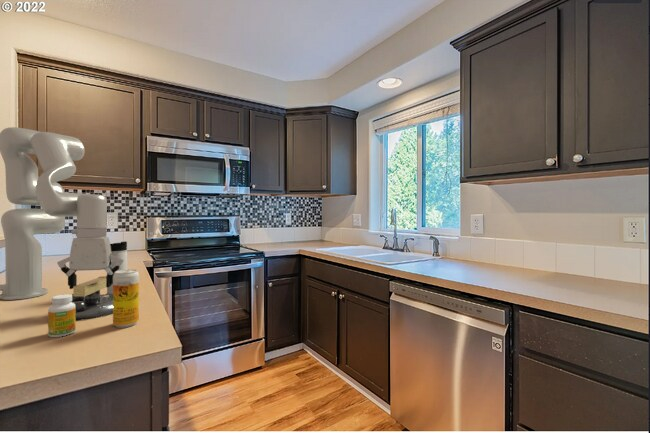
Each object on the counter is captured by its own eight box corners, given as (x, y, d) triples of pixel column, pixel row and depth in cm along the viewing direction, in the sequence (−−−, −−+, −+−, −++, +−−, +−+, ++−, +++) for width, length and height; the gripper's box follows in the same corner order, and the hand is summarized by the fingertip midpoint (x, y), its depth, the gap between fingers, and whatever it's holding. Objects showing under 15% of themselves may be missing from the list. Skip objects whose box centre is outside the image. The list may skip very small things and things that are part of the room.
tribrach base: (38, 321, 88) (38, 305, 88) (78, 302, 106) (78, 289, 106) (108, 318, 91) (108, 303, 91) (135, 300, 109) (135, 288, 109)
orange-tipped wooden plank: (86, 308, 92) (86, 285, 92) (72, 309, 92) (71, 286, 92) (112, 296, 106) (112, 276, 106) (100, 296, 105) (100, 276, 105)
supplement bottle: (52, 339, 76) (52, 300, 76) (44, 334, 79) (44, 297, 79) (79, 332, 81) (79, 295, 81) (70, 328, 84) (70, 292, 84)
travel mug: (117, 297, 112) (117, 242, 112) (102, 296, 114) (102, 241, 113) (131, 293, 118) (131, 240, 118) (117, 291, 120) (117, 240, 119)
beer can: (111, 329, 83) (111, 274, 83) (114, 322, 88) (114, 270, 88) (137, 326, 86) (138, 272, 85) (139, 319, 91) (139, 268, 91)
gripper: (52, 234, 91) (51, 291, 92) (120, 234, 97) (119, 288, 98) (64, 232, 99) (63, 285, 99) (126, 232, 104) (126, 282, 105)
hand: (91, 287), depth 98 cm, fingers open, 9 cm apart
